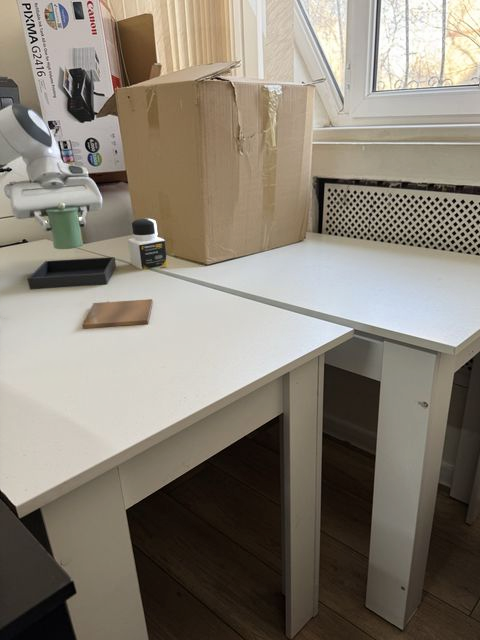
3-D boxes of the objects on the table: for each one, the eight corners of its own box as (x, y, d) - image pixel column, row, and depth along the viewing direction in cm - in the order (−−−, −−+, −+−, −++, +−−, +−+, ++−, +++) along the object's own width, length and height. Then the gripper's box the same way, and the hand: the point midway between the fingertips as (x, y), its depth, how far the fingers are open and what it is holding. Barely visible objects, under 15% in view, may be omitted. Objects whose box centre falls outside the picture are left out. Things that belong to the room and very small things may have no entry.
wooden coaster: (82, 328, 94) (82, 324, 94) (94, 306, 105) (93, 303, 105) (148, 323, 96) (147, 320, 95) (152, 302, 106) (152, 299, 106)
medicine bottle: (142, 271, 128) (136, 223, 123) (131, 266, 133) (124, 219, 128) (168, 266, 131) (162, 219, 126) (156, 261, 137) (150, 215, 132)
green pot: (49, 250, 116) (40, 205, 112) (56, 243, 122) (48, 200, 118) (80, 248, 117) (73, 204, 113) (86, 241, 123) (79, 199, 119)
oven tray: (30, 291, 116) (27, 278, 114) (47, 272, 129) (45, 261, 128) (107, 286, 117) (105, 273, 116) (116, 268, 131) (114, 256, 130)
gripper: (0, 173, 113) (16, 224, 110) (93, 167, 123) (110, 214, 119) (3, 192, 119) (18, 241, 115) (91, 184, 128) (108, 230, 125)
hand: (65, 227), depth 117 cm, fingers closed on green pot, 6 cm apart
